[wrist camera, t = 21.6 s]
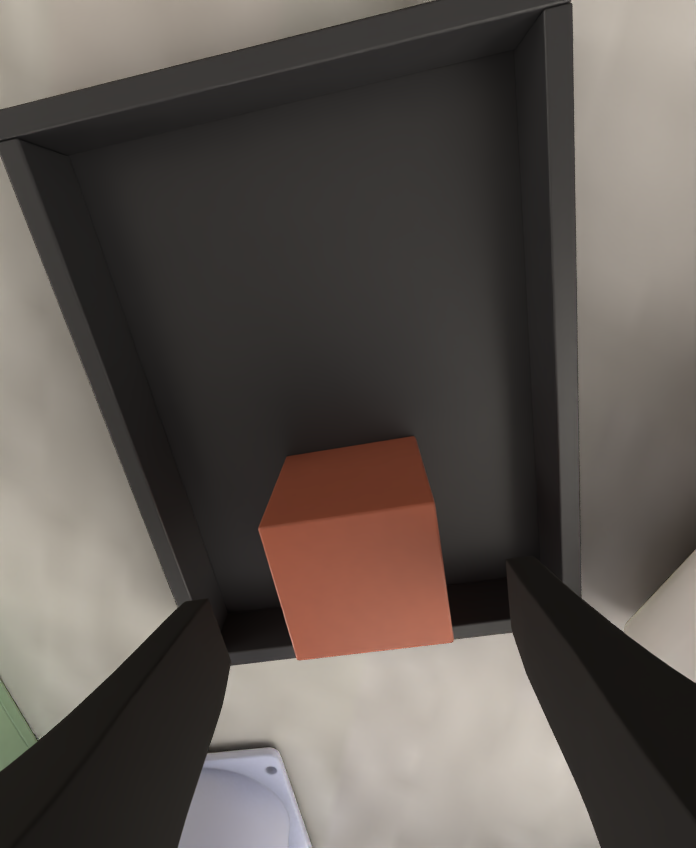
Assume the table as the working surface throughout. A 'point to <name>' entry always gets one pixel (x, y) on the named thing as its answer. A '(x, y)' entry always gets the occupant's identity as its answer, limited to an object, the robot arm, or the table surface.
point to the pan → (328, 286)
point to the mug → (670, 621)
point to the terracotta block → (357, 551)
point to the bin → (12, 730)
